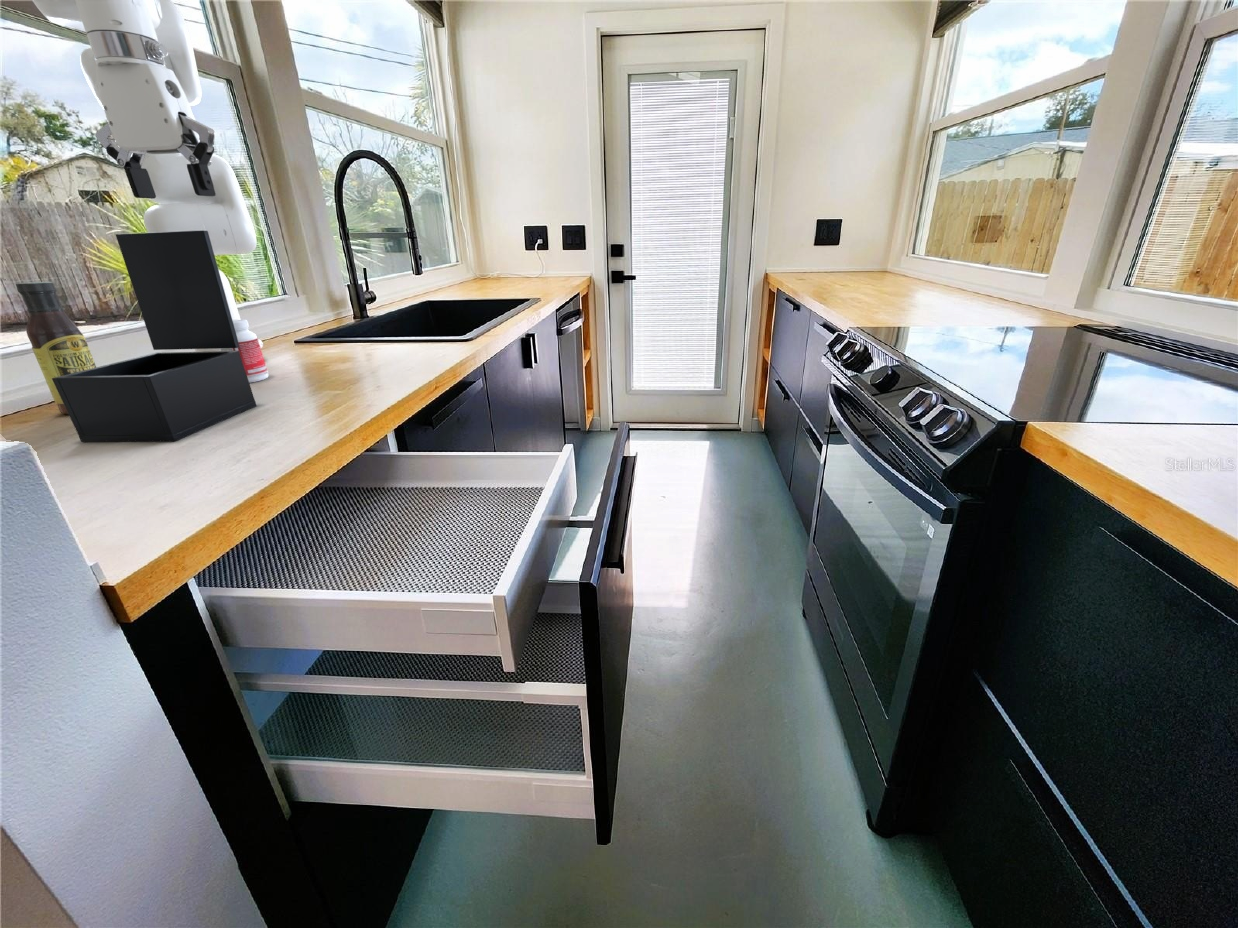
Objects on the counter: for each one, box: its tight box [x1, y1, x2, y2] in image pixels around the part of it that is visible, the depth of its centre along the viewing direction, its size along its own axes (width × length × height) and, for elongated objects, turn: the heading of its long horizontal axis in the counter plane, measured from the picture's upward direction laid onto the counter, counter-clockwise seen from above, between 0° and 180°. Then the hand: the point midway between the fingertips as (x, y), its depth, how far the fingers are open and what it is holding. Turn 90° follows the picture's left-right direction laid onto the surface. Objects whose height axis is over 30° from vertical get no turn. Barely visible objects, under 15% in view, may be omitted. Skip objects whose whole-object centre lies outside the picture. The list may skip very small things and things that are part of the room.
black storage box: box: [52, 351, 257, 443], centre depth 78 cm, size 16×14×9 cm
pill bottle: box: [220, 318, 270, 384], centre depth 101 cm, size 6×6×11 cm
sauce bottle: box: [15, 281, 97, 415], centre depth 84 cm, size 6×6×20 cm
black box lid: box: [115, 230, 240, 351], centre depth 82 cm, size 17×14×5 cm
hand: (175, 197), depth 80 cm, fingers open, 9 cm apart
